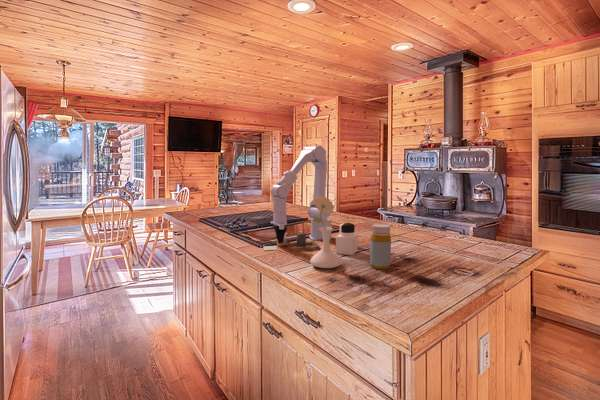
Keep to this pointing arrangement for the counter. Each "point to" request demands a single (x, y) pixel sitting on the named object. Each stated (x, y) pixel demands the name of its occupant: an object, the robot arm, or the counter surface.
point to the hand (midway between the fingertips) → (280, 242)
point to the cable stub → (301, 239)
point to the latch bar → (283, 242)
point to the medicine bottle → (347, 239)
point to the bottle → (380, 246)
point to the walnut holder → (314, 247)
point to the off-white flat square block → (269, 248)
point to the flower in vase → (325, 237)
